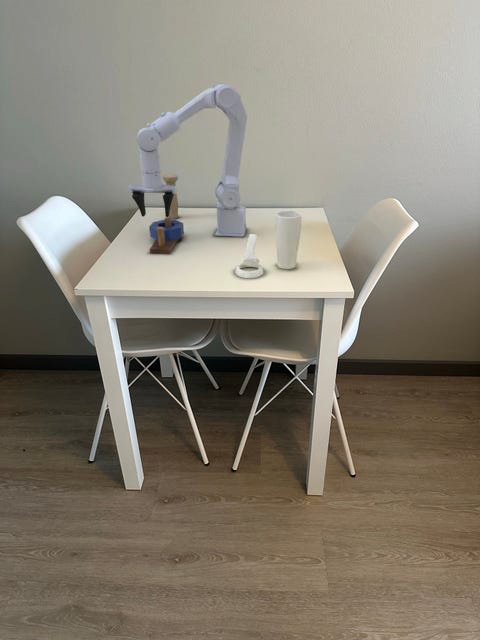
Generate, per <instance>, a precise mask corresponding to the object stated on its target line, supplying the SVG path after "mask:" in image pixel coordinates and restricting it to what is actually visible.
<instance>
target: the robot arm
mask: <svg viewBox="0 0 480 640" xmlns="http://www.w3.org/2000/svg"><path fill="white" fill-rule="evenodd" d="M217 108H218V109H220V110H221V111H222V112H223V113H224V115H225V116H226V117H227V119H228V120H229V122H228V129H227V137H226V144H225V150H224V158H223V166H222V173H221V175H220V176H219V181H218V184H217V185H216V187H215V191H214V192H215V197H216V198H217V199H218V201H217V203H216V223H217V226H216V227H217V228H216V231H215V233H214V236H215V237H239V238H240V237H241V238H242V237H244V236H245V234H246V230H247V209H246V206H244V205H240V204H239V203H240V202H241V195H240V181H239V174H240V167H241V160H242V154H243V147H244V141H245V134H246V127H247V121H248V115H247V112H246V109H245V106H244V104H243V101H242V96H241V94H240V93H239V92H238V90H236V88H235V87H233V86H232V85H230V84H226V83H223V82H218V83H216V84H214V85H213V86H212V87H209V88H206V89H205V90H203V91H201V92H200V93H199V94H197V95H196V96H195V97H194V98H192V99H191V100H190V101H188V102H187V103H186V104H185V105H183V106H182V107H180V108H179V109H178V110H177V111H175V112H172V111H167V112H161V113H160V116H159V117H158V118H157V119H156V120H154V121H152V122H151V123H150V122H148V123H147V124H146V126H147V127H143V128H141V129H140V130H139V131H138V133H137V135H136V141H137V143H138V146H139V149H138V152H139V165H140V171H141V172H140V174H141V180H142V184H130V185H128V193H129V194H132V195H131V198H132V199H133V201H134V202H135V205H136V206H137V207H138V209H139V212H140V216H141V217H145V216H146V215H147V211H146V210H147V209H146V205H145V194H146V193H148V194H163V195H162V199H163V203H164V204H163V205H164V216H165V218H167V217H169V213H170V206H171V202H172V199H173V196H174V194H176V193H177V194H178V187H177V185H176V186H170V185H166V184H163V182H162V181H163V180H162V171H161V170H162V169H161V161H160V154H159V150H158V148H159V145H160V143H163V142H164V141H166V140H167V139H169V138H171V136H173V135H174V134H176V133H178V132H179V131H180V130H181V126H182V123H183V122H185V121H188V120H189V119H191V117H194V115H196V114H198V113H200V112H201V111H202V110H204V109H217Z"/></svg>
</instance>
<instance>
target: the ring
mask: <svg viewBox="0 0 480 640" xmlns="http://www.w3.org/2000/svg"><path fill="white" fill-rule="evenodd" d="M171 225H172V227H168V228H165V219H161V220H157V221H154V222H153V221H152V223H151V224H150V225H149V226H148V227H149V236H150V238H152V239H154V240H155V241H156V240H158V234H157V227H163V228H164V237H165V241H171V240H175V239H178V238H180V239H181V238H182V237H183V235H184V234H185V227H184V223H183V222H181V221H180V220H177V219H171Z"/></svg>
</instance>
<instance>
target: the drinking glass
mask: <svg viewBox="0 0 480 640" xmlns="http://www.w3.org/2000/svg"><path fill="white" fill-rule="evenodd" d="M301 230H302V213H301V212H300V211H297V210H293V209H292V210H291V209H285V210H284V209H283V210H279V211H277V212H276V213H275V240H276V241H275V243H276V265H277V267H278V268H280V269H282V270H293V269H295V268H296V266H297V262H298V261H297V260H298V259H297V258H298V251H299V245H300V238H301Z"/></svg>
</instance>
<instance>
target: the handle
mask: <svg viewBox="0 0 480 640" xmlns="http://www.w3.org/2000/svg"><path fill="white" fill-rule="evenodd" d="M178 179H179V177H178V174H176V173H171V172H170V173H163V174H162V181H163V182H165V185H170V186H177V185H176V183H177V181H178ZM178 201H179V199H178V192H177V193H176V194H174V196H173V199H172V202H171V206H170V213H169V216H168V217H170V218H171V220H175V219H178V218H179V202H178Z"/></svg>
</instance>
